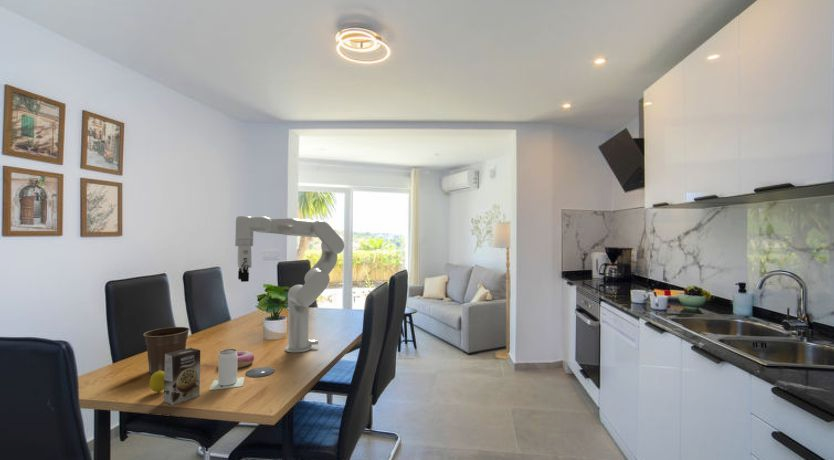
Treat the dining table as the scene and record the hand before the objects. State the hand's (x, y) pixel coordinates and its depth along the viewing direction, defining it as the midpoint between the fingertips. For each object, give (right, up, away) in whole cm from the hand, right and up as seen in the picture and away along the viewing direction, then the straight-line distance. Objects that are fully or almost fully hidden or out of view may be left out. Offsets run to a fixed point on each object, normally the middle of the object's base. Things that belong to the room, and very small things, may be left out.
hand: (243, 280), depth 179 cm
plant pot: (-25, -35, -17) cm, 46 cm away
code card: (+8, -35, -31) cm, 47 cm away
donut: (+2, -36, -10) cm, 37 cm away
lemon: (-12, -35, -40) cm, 55 cm away
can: (+8, -35, -31) cm, 47 cm away
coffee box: (-1, -35, -45) cm, 57 cm away
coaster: (+15, -35, -19) cm, 43 cm away
